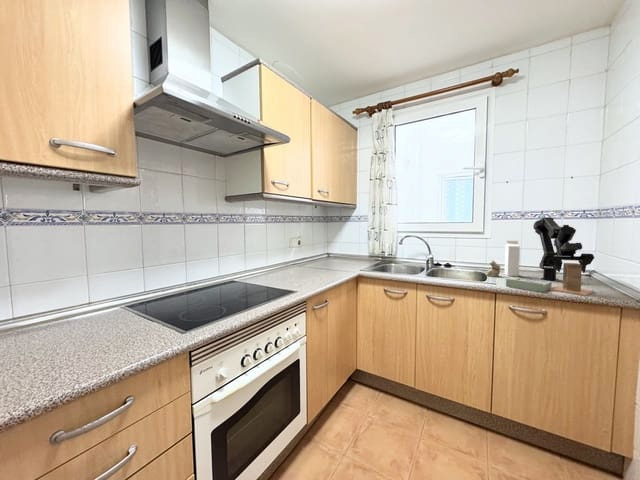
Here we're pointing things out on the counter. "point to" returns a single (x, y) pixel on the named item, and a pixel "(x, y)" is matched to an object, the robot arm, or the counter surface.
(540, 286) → the bay
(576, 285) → the brown rectangular block
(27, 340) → the counter surface
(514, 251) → the milk
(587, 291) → the tile
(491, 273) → the chocolate bunny
